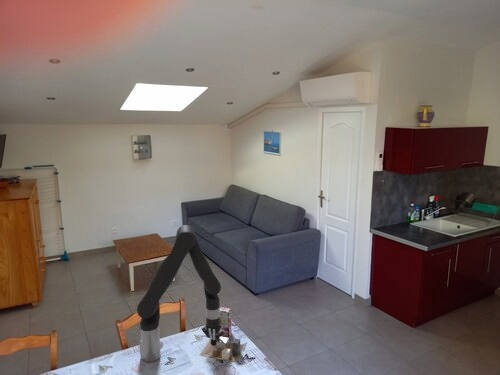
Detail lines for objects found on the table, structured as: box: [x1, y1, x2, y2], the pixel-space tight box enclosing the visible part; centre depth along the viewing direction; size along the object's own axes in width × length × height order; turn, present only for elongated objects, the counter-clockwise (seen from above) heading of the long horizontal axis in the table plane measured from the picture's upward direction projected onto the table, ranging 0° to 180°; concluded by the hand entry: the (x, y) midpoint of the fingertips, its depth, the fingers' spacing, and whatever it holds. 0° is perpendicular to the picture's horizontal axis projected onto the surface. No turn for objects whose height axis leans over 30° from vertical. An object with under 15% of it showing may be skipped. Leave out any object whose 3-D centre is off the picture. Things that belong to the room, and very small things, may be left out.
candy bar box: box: [217, 306, 232, 338], centre depth 199 cm, size 11×5×16 cm, turn 76°
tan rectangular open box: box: [199, 338, 245, 363], centre depth 185 cm, size 20×14×8 cm
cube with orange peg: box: [216, 337, 230, 356], centre depth 183 cm, size 5×8×6 cm, turn 163°
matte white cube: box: [222, 348, 231, 359], centre depth 180 cm, size 4×4×4 cm
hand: (213, 345), depth 187 cm, fingers closed
